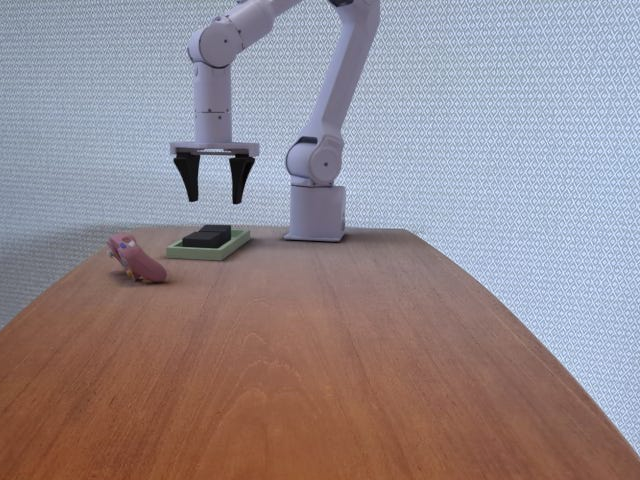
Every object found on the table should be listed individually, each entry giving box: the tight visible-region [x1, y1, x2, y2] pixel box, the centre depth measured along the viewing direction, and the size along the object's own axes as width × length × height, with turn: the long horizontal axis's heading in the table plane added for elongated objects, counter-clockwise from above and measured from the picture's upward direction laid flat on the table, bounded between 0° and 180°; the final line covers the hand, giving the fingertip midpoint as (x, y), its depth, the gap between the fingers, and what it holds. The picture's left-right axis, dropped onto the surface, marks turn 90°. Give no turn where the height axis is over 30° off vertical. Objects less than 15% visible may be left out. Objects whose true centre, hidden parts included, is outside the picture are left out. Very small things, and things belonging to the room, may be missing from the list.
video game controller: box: [106, 232, 167, 283], centre depth 89 cm, size 10×5×7 cm, turn 25°
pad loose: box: [198, 224, 232, 246], centre depth 110 cm, size 6×4×2 cm
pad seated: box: [181, 231, 222, 249], centre depth 104 cm, size 6×4×2 cm
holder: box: [165, 228, 251, 262], centre depth 108 cm, size 18×9×2 cm, turn 166°
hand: (215, 202), depth 109 cm, fingers open, 7 cm apart
